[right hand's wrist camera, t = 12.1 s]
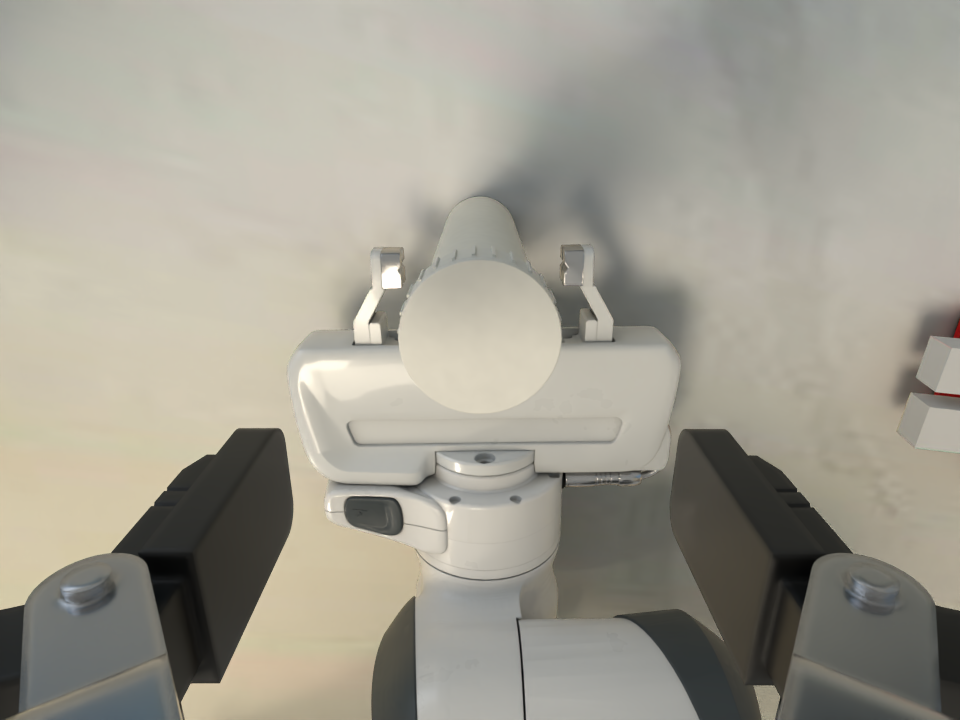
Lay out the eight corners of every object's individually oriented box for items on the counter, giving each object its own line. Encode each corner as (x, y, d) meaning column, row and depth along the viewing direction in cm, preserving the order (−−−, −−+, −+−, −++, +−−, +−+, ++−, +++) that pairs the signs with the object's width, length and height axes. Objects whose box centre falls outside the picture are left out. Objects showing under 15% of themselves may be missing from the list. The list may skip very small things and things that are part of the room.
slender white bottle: (503, 276, 37) (524, 413, 20) (436, 256, 37) (396, 378, 19) (524, 208, 36) (568, 290, 18) (455, 187, 36) (430, 250, 18)
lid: (529, 408, 21) (534, 433, 19) (387, 370, 21) (378, 392, 19) (578, 270, 19) (588, 285, 18) (424, 224, 19) (418, 235, 17)
